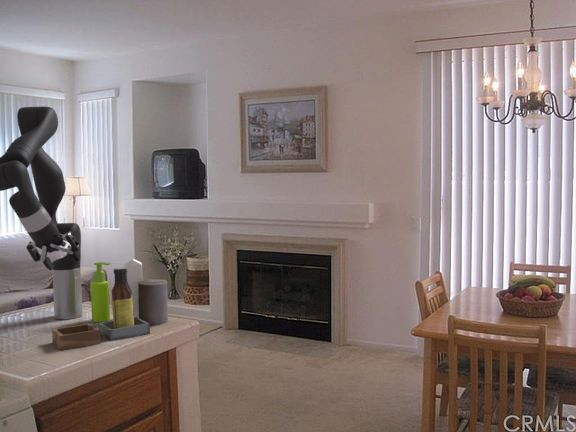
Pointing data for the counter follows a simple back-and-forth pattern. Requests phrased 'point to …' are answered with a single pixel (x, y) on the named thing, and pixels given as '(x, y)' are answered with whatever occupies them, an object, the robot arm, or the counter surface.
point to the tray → (124, 329)
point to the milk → (134, 281)
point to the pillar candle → (153, 301)
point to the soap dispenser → (100, 295)
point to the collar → (75, 336)
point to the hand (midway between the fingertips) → (65, 265)
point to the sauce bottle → (122, 300)
